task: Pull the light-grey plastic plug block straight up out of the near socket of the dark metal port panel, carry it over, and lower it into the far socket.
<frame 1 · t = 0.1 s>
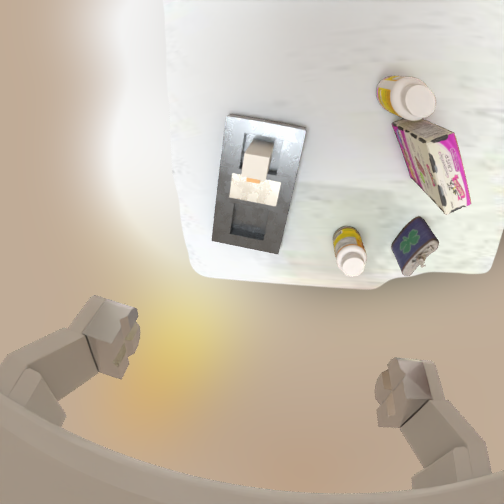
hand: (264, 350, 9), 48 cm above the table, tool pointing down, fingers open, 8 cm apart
flask: (406, 232, 58), on the table
supplement bottle 2: (346, 237, 60), on the table
panel: (256, 183, 57), on the table
plug: (262, 150, 53), resting on panel
candy bar box: (412, 146, 48), on the table
supplement bottle: (393, 94, 44), on the table
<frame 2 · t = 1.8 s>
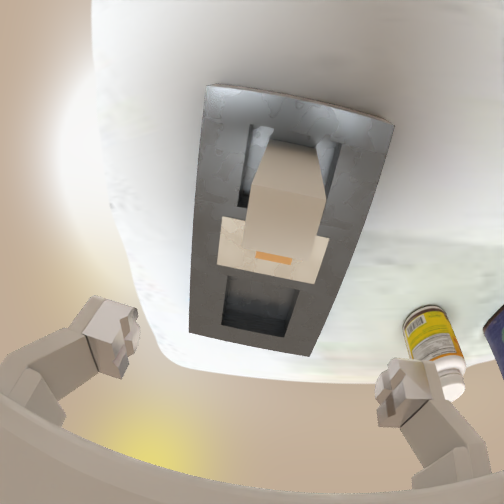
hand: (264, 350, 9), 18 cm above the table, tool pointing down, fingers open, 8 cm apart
supplement bottle 2: (423, 320, 31), on the table
panel: (273, 233, 28), on the table
plug: (288, 165, 24), resting on panel
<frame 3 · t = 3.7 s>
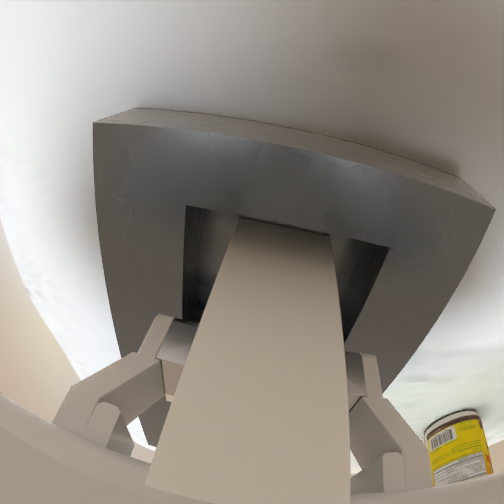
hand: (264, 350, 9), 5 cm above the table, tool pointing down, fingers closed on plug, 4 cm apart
supplement bottle 2: (451, 421, 21), on the table
panel: (253, 353, 17), on the table
plug: (276, 264, 13), point 1 cm above the table, touching gripper, panel
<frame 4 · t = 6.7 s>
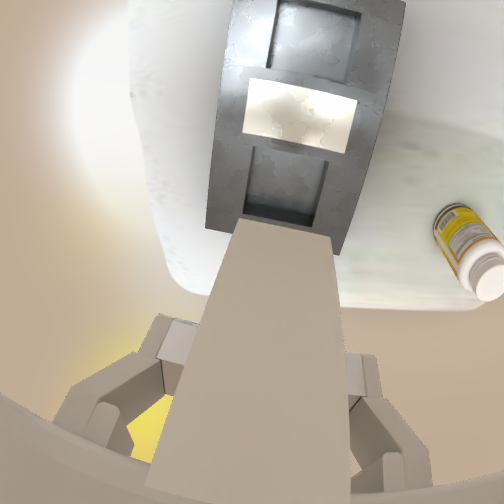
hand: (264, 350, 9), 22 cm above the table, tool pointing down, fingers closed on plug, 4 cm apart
supplement bottle 2: (453, 224, 29), on the table
panel: (299, 110, 25), on the table
plug: (276, 265, 13), point 18 cm above the table, touching gripper
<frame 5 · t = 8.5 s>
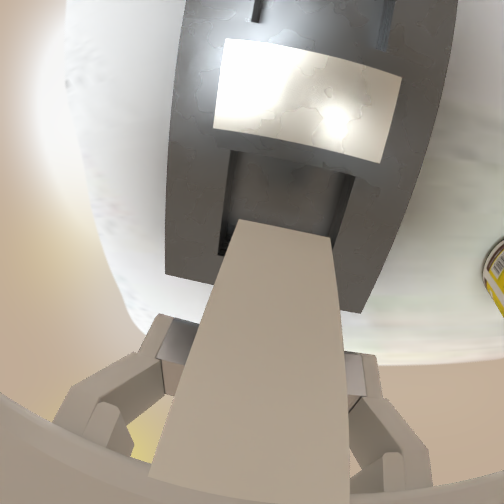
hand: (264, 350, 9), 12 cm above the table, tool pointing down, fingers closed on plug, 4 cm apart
panel: (305, 94, 16), on the table
plug: (275, 265, 13), point 7 cm above the table, touching gripper
when the fingers open (7 cm above the table, at t = 9.9 s): plug drops 2 cm, resting on panel.
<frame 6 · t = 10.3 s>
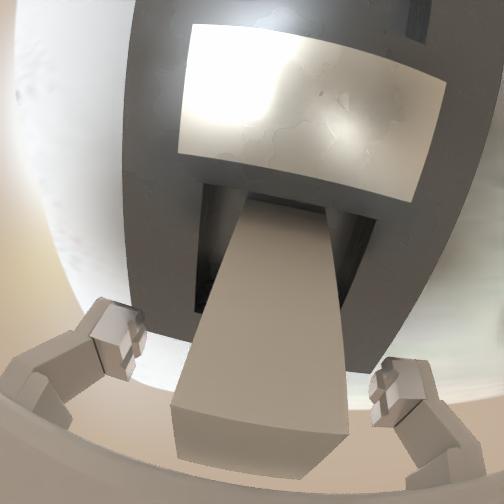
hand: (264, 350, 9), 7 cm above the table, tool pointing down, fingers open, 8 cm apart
panel: (308, 100, 12), on the table
plug: (278, 241, 15), resting on panel
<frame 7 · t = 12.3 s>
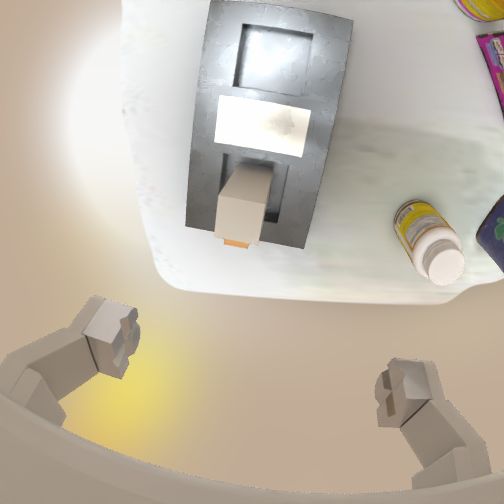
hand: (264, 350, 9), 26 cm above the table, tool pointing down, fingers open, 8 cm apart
flask: (496, 213, 31), on the table
supplement bottle 2: (414, 219, 33), on the table
panel: (264, 121, 30), on the table
plug: (254, 181, 33), resting on panel
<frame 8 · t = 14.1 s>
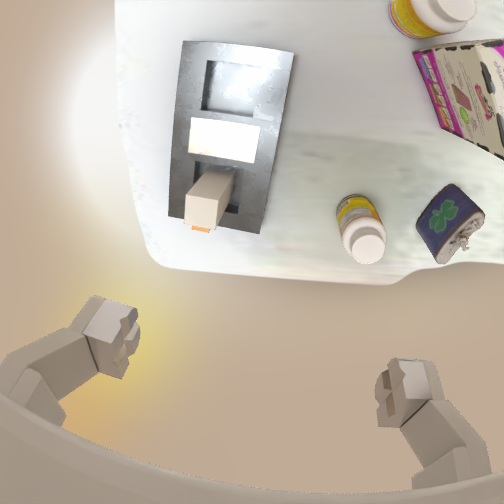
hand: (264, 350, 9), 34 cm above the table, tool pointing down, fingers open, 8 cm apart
flask: (435, 206, 40), on the table
supplement bottle 2: (355, 211, 43), on the table
panel: (227, 134, 39), on the table
plug: (220, 181, 42), resting on panel
candy bar box: (441, 85, 31), on the table
supplement bottle: (411, 16, 27), on the table
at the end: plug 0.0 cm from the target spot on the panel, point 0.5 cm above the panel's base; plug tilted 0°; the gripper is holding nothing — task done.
